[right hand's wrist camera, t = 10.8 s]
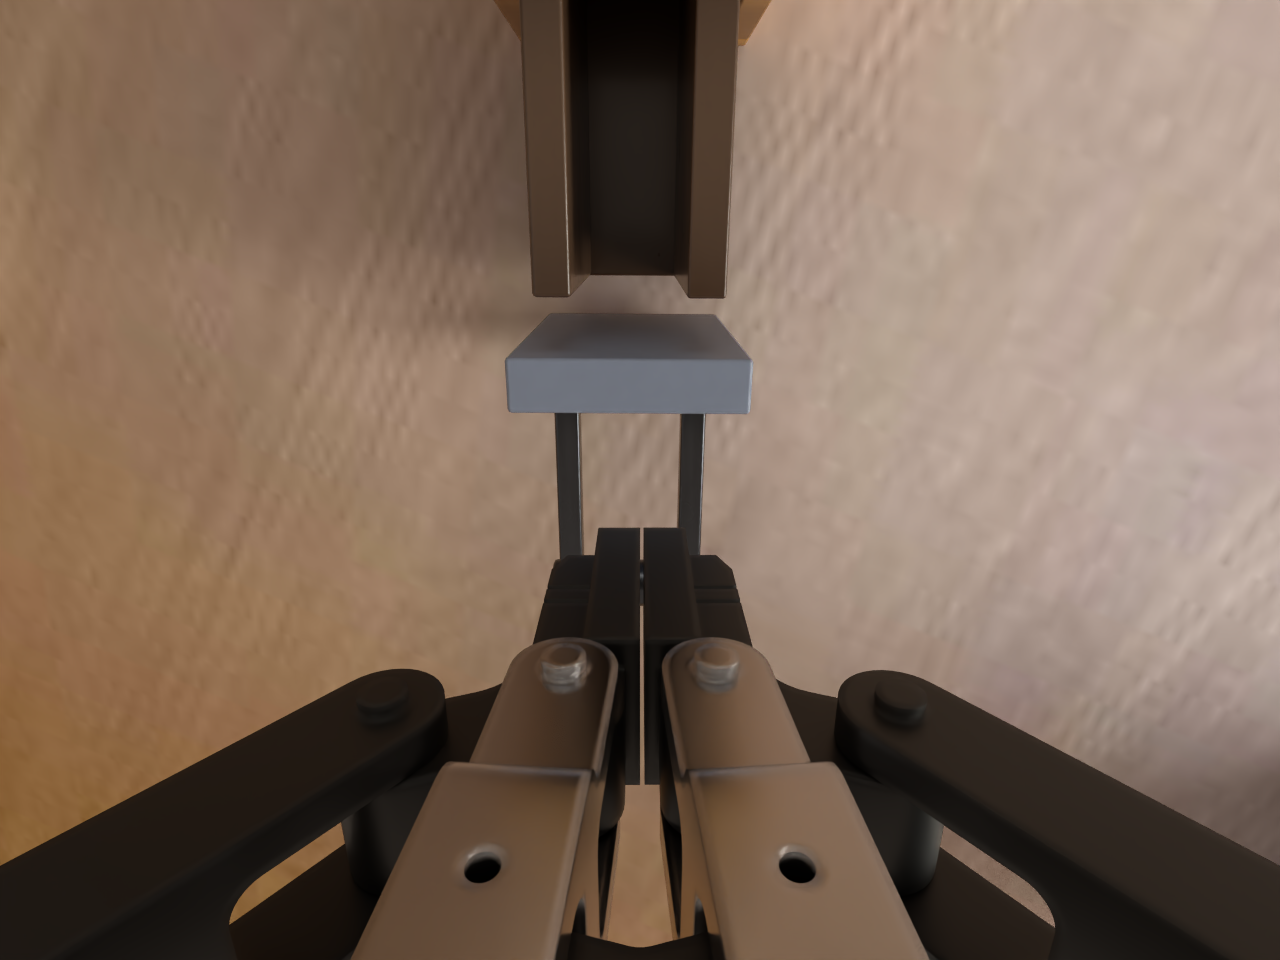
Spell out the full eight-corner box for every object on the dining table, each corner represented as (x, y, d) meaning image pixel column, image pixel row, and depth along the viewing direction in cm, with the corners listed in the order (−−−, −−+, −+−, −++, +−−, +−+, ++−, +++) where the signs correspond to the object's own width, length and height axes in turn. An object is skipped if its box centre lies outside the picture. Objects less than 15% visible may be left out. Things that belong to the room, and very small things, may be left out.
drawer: (707, 523, 24) (736, 650, 17) (556, 522, 24) (521, 649, 17) (747, -426, 16) (835, -948, 9) (521, -427, 16) (423, -954, 9)
